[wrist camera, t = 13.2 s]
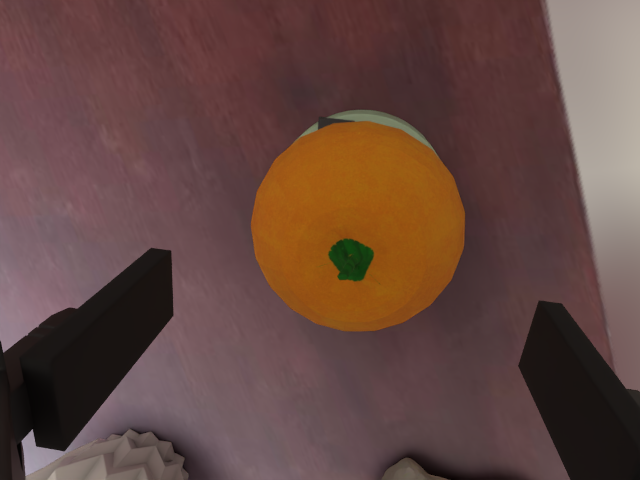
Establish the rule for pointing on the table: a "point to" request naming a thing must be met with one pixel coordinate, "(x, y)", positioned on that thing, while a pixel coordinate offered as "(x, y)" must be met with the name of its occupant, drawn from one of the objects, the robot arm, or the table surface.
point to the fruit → (358, 226)
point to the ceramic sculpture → (408, 472)
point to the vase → (117, 460)
